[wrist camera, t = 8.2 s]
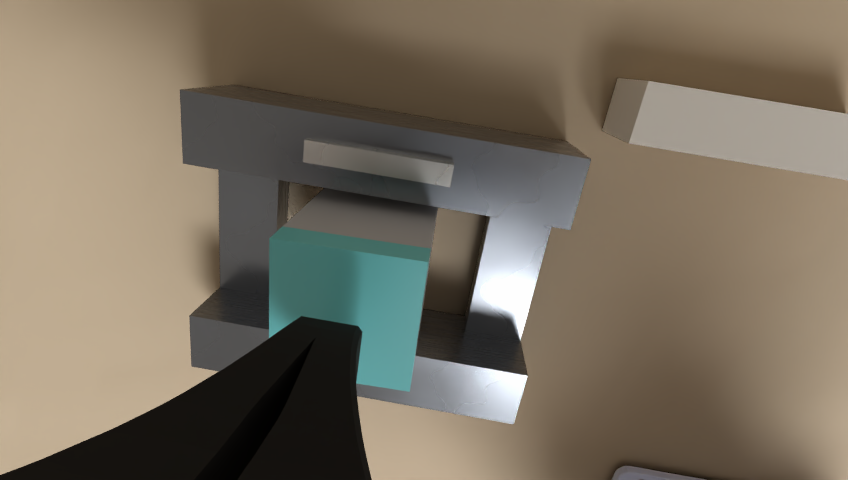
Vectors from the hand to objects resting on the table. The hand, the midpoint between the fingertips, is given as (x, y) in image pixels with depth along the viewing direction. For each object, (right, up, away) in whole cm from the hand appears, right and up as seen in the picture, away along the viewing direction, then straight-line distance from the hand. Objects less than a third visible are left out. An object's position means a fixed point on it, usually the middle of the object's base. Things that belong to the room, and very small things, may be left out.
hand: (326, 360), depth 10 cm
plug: (+1, +3, +7) cm, 7 cm away
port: (+1, +3, +7) cm, 7 cm away
